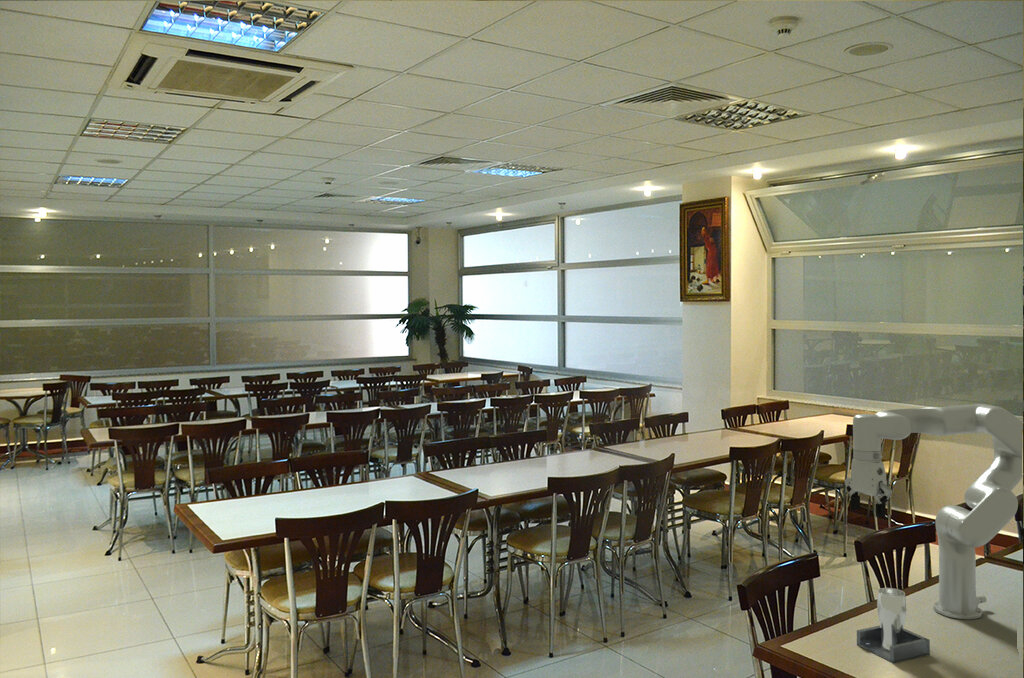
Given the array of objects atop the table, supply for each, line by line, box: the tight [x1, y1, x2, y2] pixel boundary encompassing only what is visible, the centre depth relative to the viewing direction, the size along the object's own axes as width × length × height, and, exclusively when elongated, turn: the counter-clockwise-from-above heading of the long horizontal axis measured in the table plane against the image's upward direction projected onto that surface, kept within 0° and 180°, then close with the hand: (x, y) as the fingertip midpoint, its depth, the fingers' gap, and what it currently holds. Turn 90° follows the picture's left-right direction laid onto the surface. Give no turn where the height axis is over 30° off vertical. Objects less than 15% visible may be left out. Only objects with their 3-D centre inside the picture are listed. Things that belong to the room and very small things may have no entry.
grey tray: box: [856, 625, 931, 664], centre depth 210 cm, size 12×12×4 cm
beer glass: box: [876, 587, 907, 651], centre depth 209 cm, size 7×7×15 cm
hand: (867, 512), depth 234 cm, fingers open, 9 cm apart
